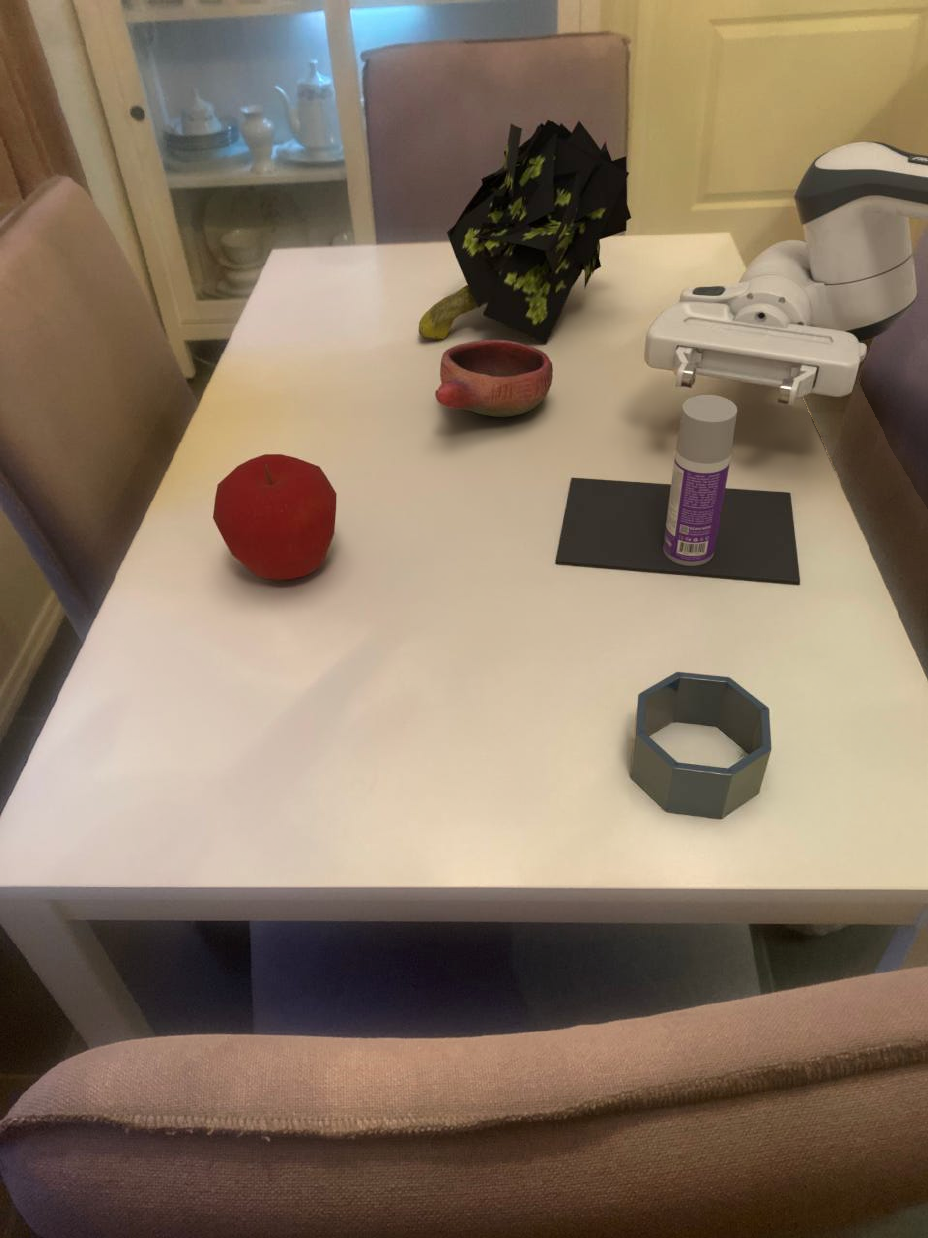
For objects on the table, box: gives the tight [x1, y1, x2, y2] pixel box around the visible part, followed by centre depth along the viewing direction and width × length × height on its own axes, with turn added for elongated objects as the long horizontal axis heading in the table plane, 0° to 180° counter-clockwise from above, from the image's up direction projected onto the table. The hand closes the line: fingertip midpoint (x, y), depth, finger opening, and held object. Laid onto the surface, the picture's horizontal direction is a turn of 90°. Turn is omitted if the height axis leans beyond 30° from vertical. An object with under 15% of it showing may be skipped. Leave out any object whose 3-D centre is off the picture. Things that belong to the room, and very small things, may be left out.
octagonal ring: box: [629, 671, 773, 820], centre depth 66 cm, size 9×9×5 cm
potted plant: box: [418, 119, 632, 345], centre depth 119 cm, size 21×22×30 cm
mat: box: [555, 477, 801, 586], centre depth 89 cm, size 22×14×1 cm, turn 79°
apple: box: [212, 453, 337, 581], centre depth 83 cm, size 11×11×12 cm
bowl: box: [434, 339, 554, 418], centre depth 104 cm, size 16×13×8 cm
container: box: [663, 394, 738, 566], centre depth 81 cm, size 5×5×15 cm
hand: (734, 388), depth 85 cm, fingers open, 8 cm apart
